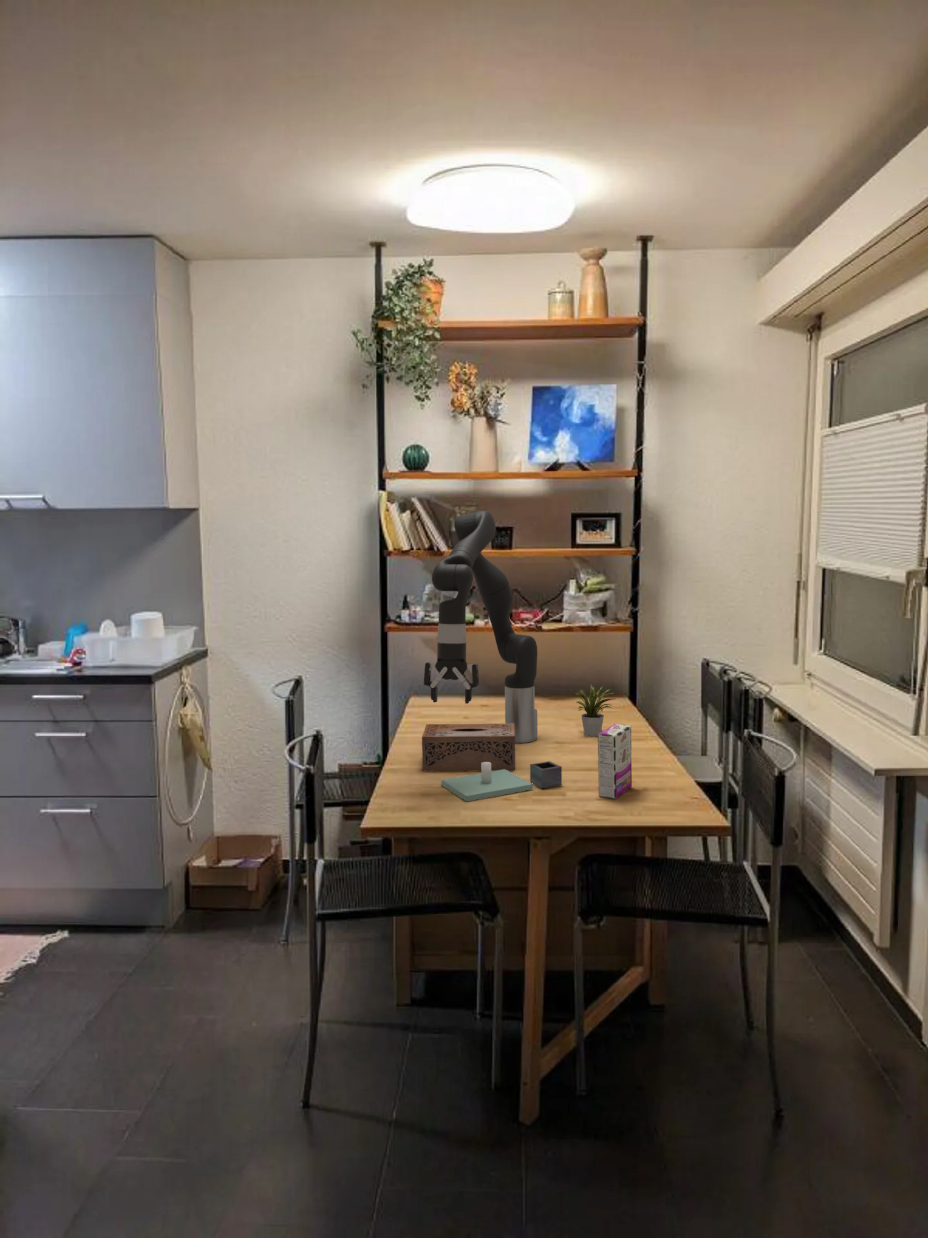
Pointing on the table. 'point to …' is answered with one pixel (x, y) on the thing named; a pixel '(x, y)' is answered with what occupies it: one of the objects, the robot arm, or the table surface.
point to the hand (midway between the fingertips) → (451, 702)
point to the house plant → (592, 712)
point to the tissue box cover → (468, 746)
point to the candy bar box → (614, 761)
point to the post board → (486, 784)
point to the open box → (546, 774)
